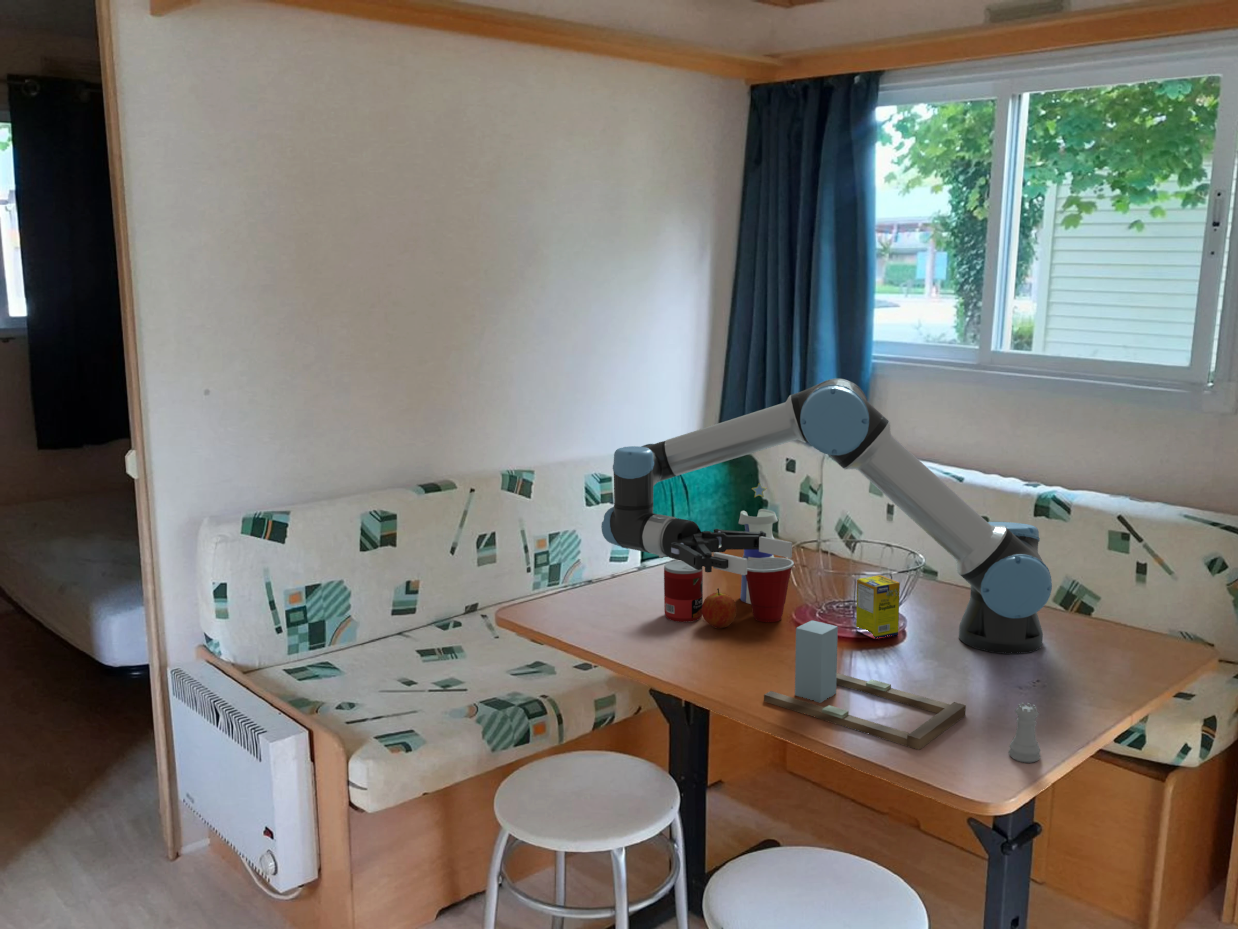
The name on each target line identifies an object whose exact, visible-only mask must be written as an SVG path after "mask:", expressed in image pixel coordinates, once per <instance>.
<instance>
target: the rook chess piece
mask: <svg viewBox="0 0 1238 929" xmlns="http://www.w3.org/2000/svg"><path fill="white" fill-rule="evenodd" d="M1025 704H1026V703H1025V702H1020V703H1018V705H1017V708H1016V709H1015V710H1014V711H1015V713H1016V715H1017V719H1015V721H1016V724H1017V727H1016V732H1015V736H1014V737H1013V738H1012V741H1010V744H1009V746H1008V747H1009V750H1008V755H1009V756H1010V757H1011V758H1012V759H1013V760H1014V761H1017V762H1020V763H1023V764H1024V763H1025V764H1033V763H1036V762H1038V760H1040V759H1041V754H1040V752H1041V751H1042V750H1041V746H1040V745H1039V743H1038V740H1037V738H1036V725H1037V721H1036V718H1037V717H1038V716H1039V715H1040V713H1039V712H1038V710H1037V706H1036V705H1035V704H1031V703H1029V702H1027V704H1026V705H1025Z"/></svg>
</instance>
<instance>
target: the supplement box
mask: <svg viewBox="0 0 1238 929" xmlns="http://www.w3.org/2000/svg"><path fill="white" fill-rule="evenodd" d="M900 586H901V583H900V582H899V581H897V580H893V579H892V578H888V577H887V576H884V575H881V574H878V575H873V576H867V577H862V578H857V579H856V606H855V607H856V610H855V611H856V616H855V617H856V619H855V622H856V623H855V628H856V627H859V628H862V629H866V630H868V631H869V632H871V633H872V634H873V636H874V637H875V639H876V638H877V637H878V638H879V637H885V636H886V637H887V635H888V636H889V635H890V636H891V635H892V636H893V637H895V636H894V635H897V636H899V626H900V625H899V624H900V623H899V622H900V621H899V620H900V618H899V616H900V590H901V589H900Z"/></svg>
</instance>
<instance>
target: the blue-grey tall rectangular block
mask: <svg viewBox="0 0 1238 929" xmlns="http://www.w3.org/2000/svg"><path fill="white" fill-rule="evenodd" d="M838 629H839V627H838V626H837V625H833V624H829V623H826V622H821V621H817V620H812V619H811V620H810V621H808V622H805V623H803V624H801V625H799V626H797V627H796V628H795V670H794V672H795V673H794V674H795V676H794V683H795V684H794V696H797V697H799V698H802V697H803V699H806V698H807V699H806V700H809V699H810V700H809V701H812V700H814V701H813V702H816V703H820V704H821V703H823V702H824V700H825V701H826V700H828V699H830V698H831V697H834V694H835V695H836V694H837V684H836V677H837V673H838V672H837V670H838V666H837V665H838V662H837V661H838V631H839V630H838ZM829 697H830V698H829ZM827 698H828V699H827Z"/></svg>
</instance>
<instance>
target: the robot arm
mask: <svg viewBox="0 0 1238 929" xmlns="http://www.w3.org/2000/svg"><path fill="white" fill-rule="evenodd" d="M797 440H798V441H799V442H802V443H809V445H811V447H813V448H814V449H815V450H816V451H818V452H820V453H823V454H824V455H825V454H826V455H828V456H829V457H830V458H831V459H832V460H833V461H834V462H835V463H837V465H839V467H841V468H842V469H844V470H856V471H858V472H859V473H860V474H862V476H864V477H865V479H867V480H868V481H869V482H870V483H871V484H872V485H873V486H875V488H877V489H878V490H879V491H880V493H882V494H883V495H884V496H886V498H888V500H890V501H891V502H892V503H893V504H894V505H895V506H896V507H897V508H898V509H900V510H901V511H902V512H903V513H904V514H905V515H906V516H907V517H908V518H909V519H911V520H912V521H913V522H914V523H915V524H916V525H917V526H919V527H920V529H921V530H923V531H924V532H925V533H926V534H927V535H928V536H929V537H930V538H931V539H933V540H934V541H935V542H936V543H937V544H938V545H939V546H940V547H941V548H942V549H943V550H944V551H946V552H947V553H948V554H949V555H950V556H951V557H953V558H954V559H955V560H956V571H957V574H958V575H959V576H960V577H961V578H963V579H964V580H965V581H966V583H968V584H969V585H970V595H969V600H968V602H967V603H968V604H967V606H966V608H965V611H964V613H963V615H962V618H961V620H960V623H959V628H958V638H959V640H960V641H961V642H962V643H963V644H966V645H967V646H969V647H970V648H971V647H972V648H974V649H978V650H981V651H985V652H991V653H995V654H996V653H997V654H1009V655H1010V654H1011V655H1013V654H1017V655H1019V654H1027V653H1031V652H1035V651H1037V650H1039V649H1041V647H1042V646H1043V638H1044V637H1043V635H1044V634H1043V630H1042V626H1041V622H1040V619H1039V615H1038V613H1039V611H1041V610H1042V609H1043V608H1044V607H1045V606H1046V605H1047V603H1048V601H1049V599H1050V597H1051V594H1052V587H1053V582H1052V576H1051V572H1050V570H1049V568H1048V566H1047V565H1046V564H1045V562H1044V561H1043V559H1042V557H1041V555H1040V554H1039V543H1040V541H1041V540H1040V534H1039V533H1040V532H1039V529H1038V528H1037V527H1036V525H1035V526H1034V525H1032V524H1027V523H1020V522H1010V521H1009V522H1008V521H1006V522H1005V521H987V520H986V519H985V518H984V517H983V516H981V515H980V514H979V513H978V511H976V510H975V509H974V508H973V507H971V505H969V504H968V503H967V502H966V501H965V500H964V499H962V497H960V496H959V495H958V494H957V493H956V492H955V491H954V490H952V488H951V487H950V486H948V485H947V484H946V483H945V482H944V481H943V480H941V478H940V477H938V476H937V475H936V474H935V473H934V472H933V471H931V469H930V468H928V467H927V466H926V465H925V464H924V462H922V461H921V460H920V459H919V458H917V457H916V456H915V454H913V453H912V452H911V451H910V450H908V448H906V447H905V446H904V445H903V444H902V443H901V442H900V441H899V440H898V439H896V438H895V437H894V436H893V435H892V432H891V422H890V420H889V419H888V418H886V416H884V415H883V414H882V413H881V412H880V411H879V410H877V408H875V407H874V406H873V405H872V403H870V402H869V401H868V398H867V396H866V394H865V392H864V391H863V389H861V387H860V386H858V385H857V384H856V383H854V382H853V381H850V380H847V379H844V378H831V379H830V378H829V379H827V380H824V381H822V382H820V383H818V384H815V385H813V386H812V387H811V386H810V387H809V388H806V389H804V390H802V391H798V392H795V393H793V394H790V395H789V396H788V397H787V399H786V401H785V402H782V403H779V404H776V405H773V406H770V407H766V408H763V409H760V410H756V411H754V412H751V413H750V412H749V413H747V414H744V415H741V416H738V417H735V418H732V419H729V420H725V421H722V422H719V423H715V424H712V425H709V426H706V427H703V428H700V429H697V430H693V431H690V432H687V433H685V434H681V435H678V436H675V437H671V438H668V439H665V440H663V441H658V442H657V443H647V444H643V445H641V446H635V445H634V446H623V447H619V448H617V449H616V450H615V451H614V453H613V464H612V471H613V506H612V507H610V508H609V509H607V511H606V512H605V513H604V514H603V521H602V522H601V528H600V529H601V533H602V536H603V538H604V539H605V541H606V542H608V543H609V544H612V545H615V546H618V547H621V548H622V549H626V550H628V549H629V550H634V551H638V552H643V553H644V552H645V553H648V554H653V555H657V556H658V558H660V559H663V558H664V557H665V558H669V559H672V560H676V561H683V562H685V563H686V564H688V565H690V566H691V567H693V568H695V569H697V570H701V569H702V568H703V567H704V572H705V573H712V572H713V571H712V570H713V569H715V570H720V571H724V572H728V573H733V574H737V575H740V576H742V575H747V559H746V558H743V556H742V557H741V556H736V555H732V554H726V553H725V552H726V551H727V550H728V551H729V550H739V551H741V550H742V551H744V550H759V552H763V553H768V554H773V555H774V556H779V557H781V558H786V559H790V558H792V557H793V542H791V541H786V540H782V539H778V538H774V539H773V538H768V537H766V533H764V532H763V531H760V532H745V530H744V531H742V530H739V531H738V530H727V529H725V530H724V529H719V528H715V529H713V532H712V531H708V530H703V531H702V530H701V529H700V527H699V525H698V524H697V522H695V521H693V520H689V519H683V518H678V517H677V516H676V517H675V516H671V515H670V516H669V515H665V514H664V515H663V514H658V513H654V486H656V484H657V483H659V482H663V481H665V480H666V481H667V480H669V479H672V478H675V477H678V476H680V475H684V474H687V473H690V472H694V471H697V470H701V469H703V468H707V467H710V466H713V465H717V464H720V463H724V462H727V461H730V460H733V459H737V458H741V457H744V456H748V455H750V454H754V453H757V452H760V451H763V450H767V449H771V448H774V447H777V446H781V445H783V444H786V443H791V442H795V441H797ZM712 553H713V554H712ZM712 567H713V568H712Z"/></svg>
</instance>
